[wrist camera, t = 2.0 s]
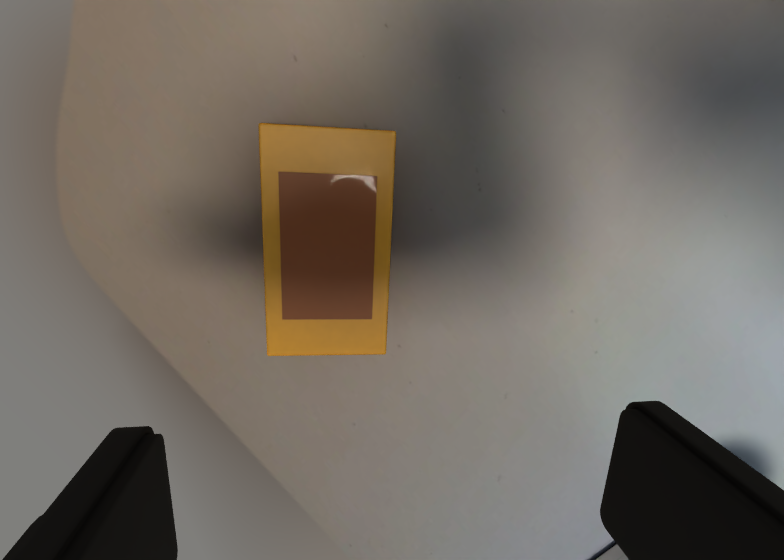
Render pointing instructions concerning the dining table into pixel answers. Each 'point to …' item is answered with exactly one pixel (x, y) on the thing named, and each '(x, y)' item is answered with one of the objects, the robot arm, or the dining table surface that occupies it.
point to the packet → (326, 238)
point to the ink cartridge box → (613, 554)
